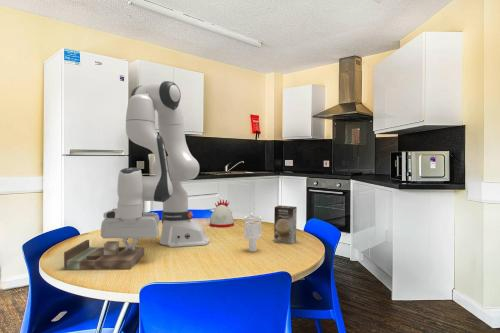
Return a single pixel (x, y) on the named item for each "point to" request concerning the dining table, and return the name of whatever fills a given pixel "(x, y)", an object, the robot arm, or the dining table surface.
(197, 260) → the dining table surface
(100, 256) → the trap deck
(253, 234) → the clear glass tall piece
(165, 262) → the dining table surface
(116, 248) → the cube
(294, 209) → the coffee box
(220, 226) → the kitchen timer
